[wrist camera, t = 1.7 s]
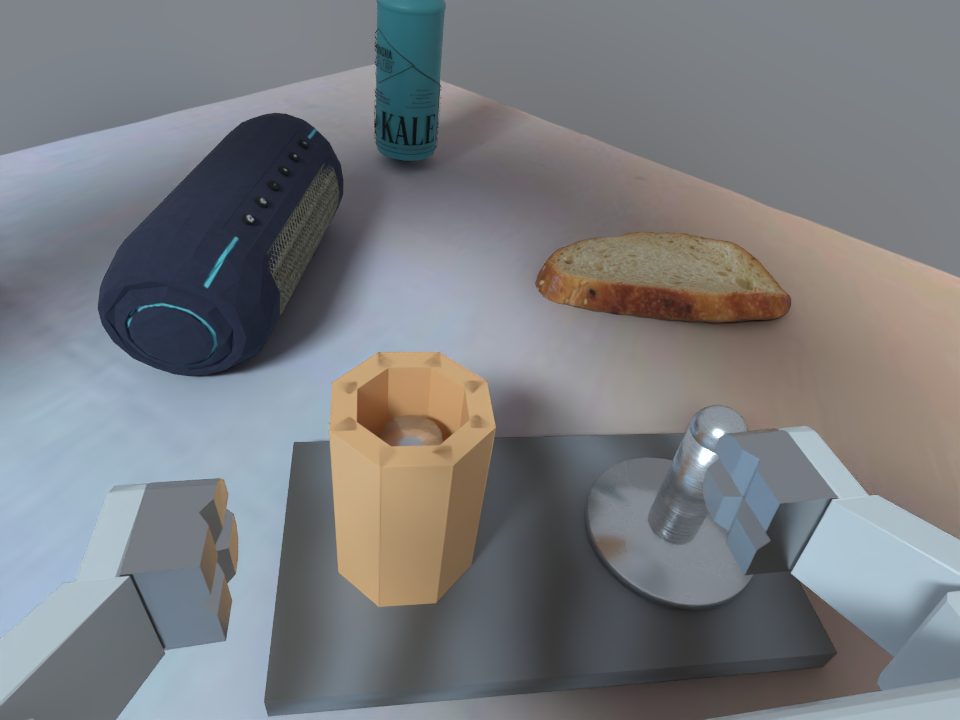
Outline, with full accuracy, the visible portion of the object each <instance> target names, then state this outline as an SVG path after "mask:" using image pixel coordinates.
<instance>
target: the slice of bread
mask: <svg viewBox="0 0 960 720" xmlns="http://www.w3.org/2000/svg"><path fill="white" fill-rule="evenodd" d="M536 287H537V289H538V290H539V292H540V293H541V294H542V295H543V296H544V297H545V298H547V299H548V300H550V301H553V302H556V303H559V304H566V305H570V306H574V307H578V308H584V309H588V310H592V311H597V312H607V313H612V314H617V315H631V316H636V317H648V318H654V319H660V320H679V321H685V322H706V323H721V322H733V323H738V322H742V321H748V320H769V319H775V318H779V317H781V316H783V315H785V314H786V313H787V312H788V311H789V309H790V306H791V298H790V296H789V295H788V294H787V293H786V292H785V291H784V290H783V289H782V288H781V287H780V286H779V285H778V283H777V282H776V281H775V280H774V278H773V277H772V276H771V275H770V274H769V272H768V271H767V270H766V269H765V268H764V267H763V265H762V264H761V263H760V262H759V261H758V260H757V259H756V258H754V257H753V256H752V255H751V254H750V253H748V252H747V251H746V250H744V249H743V248H741V247H740V246H738V245H737V244H735V243H732V242H728V241H722V240H714V239H708V238H702V237H696V236H692V235H688V234H672V233H653V232H643V233H641V232H636V233H628V234H625V235H622V236H619V237H606V238H594V239H589V240H583V241H578V242H576V243H574V244H572V245H569V246H566V247H563V248H560V249H558V250H557V251H556V252H555V253H553V254H552V256H551V257H550V258H549V259H548V260H547V261H546V263H545V264H544V266H543V268H542V269H541V271H540V272H539V274H538V277H537V281H536Z"/></svg>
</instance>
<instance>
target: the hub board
mask: <svg viewBox="0 0 960 720" xmlns="http://www.w3.org/2000/svg"><path fill="white" fill-rule="evenodd" d="M746 431H748V428H747V425H746V422H745V421H744V419H743V418H742V416H741V415H740V414H739V413H738V412H736V411H735V410H733V409H731V408H729V407H726V406H721V405H713V406H709V407H705V408H703V409H702V410H700V411H699V412H697V413H696V414H695V415H694V417H693V418H692V420H691V422H690V424H689V426H688V428H687V430H686V433H678V434H634V435H590V436H545V437H501V438H494V442H493V447H492V453H491V459H490V464H489V470H488V475H487V481H486V486H485V492H484V497H483V503H482V509H481V514H480V520H479V525H478V531H477V536H476V542H475V547H474V553H473V559H472V564H471V566H470V567H469V568H468V569H467V570H466V571H465V572H464V573H463V575H462V576H461V577H460V578H459V579H458V580H457V581H456V582H455V583H454V584H453V585H452V586H451V588H450V589H449V590H448V591H447V592H446V593H445V594H444V595H443V596H442V597H441V598H440V600H439V601H438V602H437V603H432V604H417V605H401V606H386V607H378V606H377V605H376V604H375V603H374V602H372V601H371V600H370V599H369V598H368V597H367V596H365V595H364V594H363V593H362V592H361V591H360V590H358V589H357V588H356V587H355V586H354V585H353V584H351V583H350V582H349V581H348V580H347V579H346V578H344V577H343V576H342V575H341V574H340V573H339V572H338V560H337V544H336V529H335V514H334V498H333V483H332V468H331V452H330V441H323V442H294V445H293V454H292V463H291V472H290V480H289V489H288V498H287V507H286V515H285V524H284V533H283V542H282V551H281V559H280V568H279V577H278V586H277V594H276V603H275V612H274V621H273V630H272V638H271V647H270V656H269V665H268V673H267V682H266V691H265V700H264V703H265V706H266V710H267V714H268V716H277V715H288V714H300V713H311V712H322V711H333V710H345V709H356V708H367V707H378V706H390V705H401V704H412V703H424V702H435V701H446V700H457V699H469V698H480V697H491V696H502V695H514V694H525V693H536V692H548V691H559V690H570V689H581V688H593V687H604V686H615V685H626V684H638V683H649V682H660V681H672V680H683V679H694V678H705V677H717V676H728V675H739V674H750V673H762V672H773V671H784V670H796V669H807V668H818V667H823V666H824V665H825V664H826V663H827V662H829V661H830V660H831V659H832V658H833V657H834V656H835V655H836V654H837V652H836V650H835V648H834V646H833V644H832V642H831V641H830V639H829V637H828V635H827V633H826V631H825V629H824V627H823V626H822V624H821V622H820V620H819V618H818V616H817V614H816V612H815V611H814V609H813V607H812V605H811V603H810V601H809V599H808V597H807V596H806V594H805V592H804V590H803V588H802V586H801V584H800V582H799V581H798V579H797V578H796V577H795V576H793V575H792V574H791V572H792V571H784V572H774V573H764V574H753V575H744V574H743V572H742V570H741V568H740V567H739V565H738V563H737V561H736V560H735V558H734V556H733V554H732V553H731V551H730V549H729V547H728V546H727V544H726V539H727V534H728V530H726V529H725V528H723V527H722V526H720V525H719V524H717V523H716V522H714V521H713V519H712V517H711V515H710V513H709V511H708V509H707V507H706V503H705V500H704V495H703V480H704V477H705V474H706V471H707V468H708V467H709V466H710V465H712V464H713V463H714V462H715V461H716V460H717V459H719V458H718V456H717V454H716V452H715V451H714V449H715V446H716V444H717V441H718V439H719V438H720V437H721V436H722V435H724V434H726V433H736V432H746ZM380 439H381V440H383V441H384V442H386V443H387V444H388V445H390V446H432V445H441V444H442V433H441V431H440V429H439V427H438V426H437V425H436V424H435V423H434V422H432V421H431V420H429V419H427V418H425V417H422V416H416V415H405V416H400V417H397V418H395V419H393V420H391V421H390V422H388V423H387V424H386V425H385V426H384V428H383V430H382V432H381V437H380Z"/></svg>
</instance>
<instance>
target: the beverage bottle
mask: <svg viewBox="0 0 960 720" xmlns="http://www.w3.org/2000/svg"><path fill="white" fill-rule="evenodd" d="M377 4H378V5H377V31H376V32H377V44H376V47H377V57H376V58H377V63H376V64H375V65H376V73H375V74H376V91H375V93H376V95H375V97H376V105H375V109H376V121H375V122H374V124H375V127H376V128H375V134H376V137H375V138H374V140H375V139H376V142H375V143H376V144H377V148H378V150H379V152H380V153H382V154H383V155H385V156H387V157H390V158H393V159H398V160H405V161H415V160H422V159H425V158H428V157H430V156H431V155H432V154H433V153H434V150H435V148H436V147H437V146H436V139H437V138H436V134H437V128H439V127H438V126H439V125H438V124H439V122H438V123H437V121H438V120H439V119H438V111H439V108H438V107H439V96H440V90H441V89H440V86H441V85H440V69H441V54H442V41H443V26H444V12H445V7H446V5H445V2H444V0H377ZM376 32H375V33H376ZM375 38H376V37H375ZM440 99H441V96H440ZM439 112H440V111H439ZM374 136H375V135H374ZM437 140H438V139H437Z"/></svg>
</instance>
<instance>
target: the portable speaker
mask: <svg viewBox="0 0 960 720" xmlns="http://www.w3.org/2000/svg"><path fill="white" fill-rule="evenodd" d="M342 195H343V176H342V170H341V164H340V162H339V160H338V158H337V156H336V155H335V153H334V151H333V149H332V147H331V145H330V143H329V142H328V141H327V140H326V139H325V138H324V137H323V136H322V135H321V134H320V133H319V132H318V131H317V130H316V129H315V128H314V127H312V126H311V125H310V124H308V123H307V122H306V121H304V120H302V119H299V118H296V117H293V116H291V115H288V114H281V113H272V114H265V115H262V116H258V117H255V118H252V119H250V120H247V121H245V122H242V123H241V124H240V125H239V126H237V127H236V128H235V129H234V130H232V131H231V132H230V133H229V134H228V135H227V136H226V137H225V138H224V139H223V140H222V141H221V142H220V143H219V144H218V145H217V146H216V147H215V148H214V149H213V150H212V151H211V152H210V153H209V154H208V155H207V156H206V157H205V158H204V160H203V161H202V162H201V163H200V164H199V165H198V166H197V167H196V168H195V169H194V170H193V171H192V172H191V173H190V174H189V175H188V176H187V177H186V178H185V179H184V180H183V181H182V182H181V183H180V184H179V185H178V186H177V187H176V188H175V189H174V190H173V191H172V192H171V193H170V194H169V195H168V196H167V197H166V198H165V199H164V200H163V202H162V203H161V204H160V205H159V206H158V207H157V208H156V209H155V210H154V211H153V212H152V213H151V214H150V215H149V216H148V217H147V218H146V219H145V220H144V221H143V222H142V223H141V224H140V225H139V226H138V227H137V228H136V229H135V230H134V231H133V232H132V233H131V234H130V235H129V236H128V237H127V238H126V239H125V241H124V242H123V243H122V245H121V246H120V247H119V249H118V250H117V252H116V254H115V256H114V258H113V260H112V262H111V264H110V266H109V268H108V270H107V272H106V274H105V276H104V279H103V281H102V284H101V287H100V293H99V302H98V311H99V314H100V318H101V322H102V325H103V327H104V328H105V330H106V332H107V333H108V335H109V336H110V337H111V339H112V340H113V342H114V343H115V344H117V345H118V346H119V347H120V348H121V349H123V350H124V351H125V352H126V353H127V354H129V355H130V356H131V357H132V358H134V359H136V360H138V361H140V362H143V363H145V364H147V365H149V366H152V367H154V368H157V369H160V370H163V371H166V372H169V373H173V374H178V375H186V376H196V375H209V374H212V373H216V372H219V371H222V370H226V369H228V368H230V367H232V366H234V365H236V364H238V363H241V362H243V361H245V360H247V359H249V358H251V357H253V356H254V355H255V354H256V353H257V352H258V351H260V350H261V349H262V347H263V346H264V344H265V342H266V341H267V339H268V337H269V336H270V334H271V332H272V330H273V329H274V327H275V325H276V324H277V322H278V320H279V318H280V316H281V315H282V313H283V311H284V309H285V307H286V305H287V303H288V301H289V299H290V298H291V296H292V294H293V292H294V290H295V288H296V286H297V284H298V282H299V280H300V279H301V277H302V275H303V273H304V271H305V269H306V267H307V265H308V264H309V262H310V260H311V258H312V256H313V254H314V252H315V250H316V248H317V247H318V245H319V243H320V241H321V239H322V237H323V235H324V233H325V231H326V230H327V228H328V226H329V224H330V222H331V220H332V218H333V216H334V214H335V213H336V210H337V209H338V207H339V204H340V201H341V198H342Z"/></svg>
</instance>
